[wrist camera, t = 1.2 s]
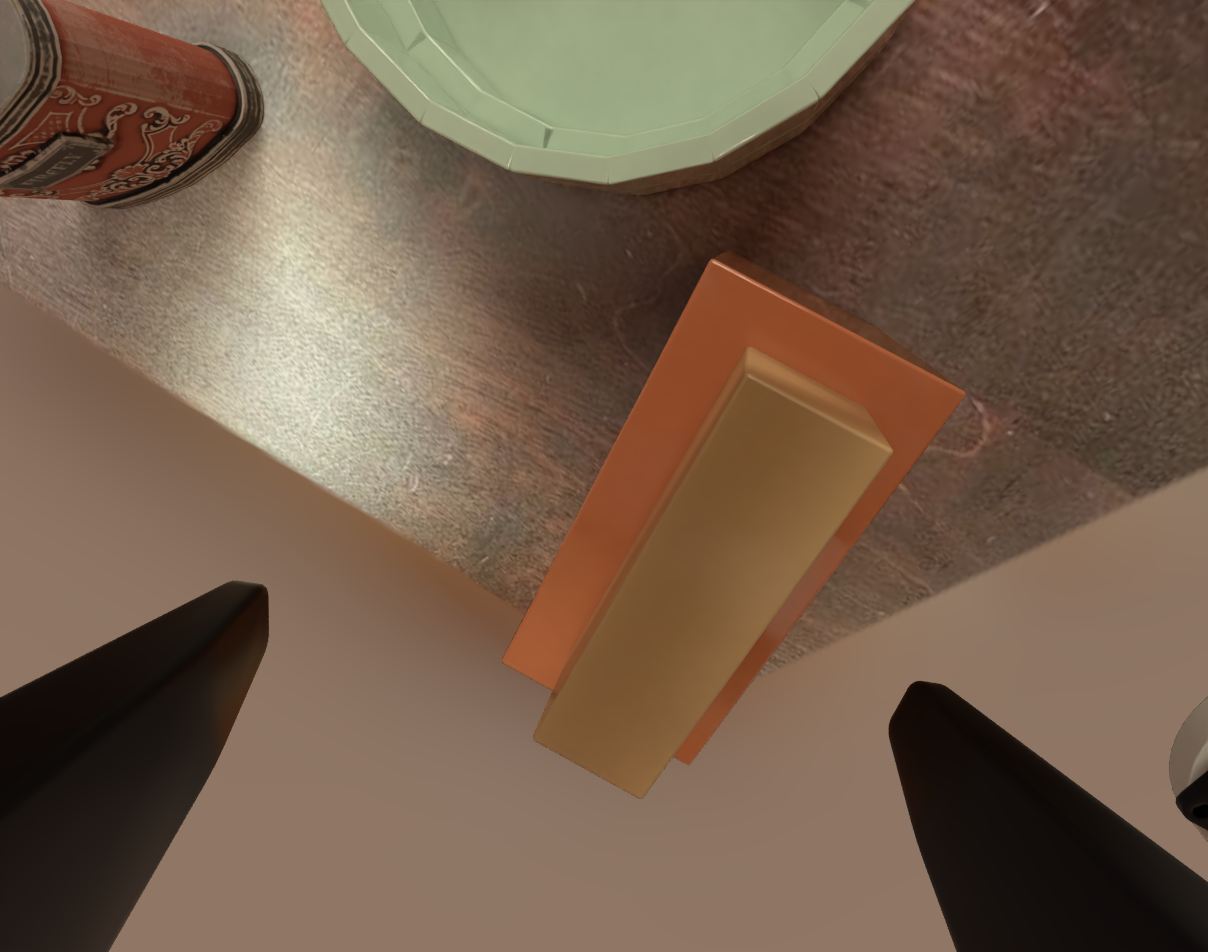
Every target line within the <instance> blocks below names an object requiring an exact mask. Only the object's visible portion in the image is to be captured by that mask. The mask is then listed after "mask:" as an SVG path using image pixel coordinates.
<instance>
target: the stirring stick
mask: <svg viewBox="0 0 1208 952" xmlns="http://www.w3.org/2000/svg"><path fill="white" fill-rule="evenodd" d="M892 454H893V449H892V448H891V446H890V445H889V443H888V442H887V440H886V439H885V437H884V436H883V434H882V433H881V431H880V430H879V428H878V427H877V425H876V424H875V422H874V420H873V419H872V417H871V416H870V414H869V413H868V411H867V410H866V408H865V407H864V406H862V405H860V404H858V403H856V402H854V401H853V400H851V399H849V398H847V397H845V396H843V395H841V394H839V393H837V392H836V391H834V390H832V389H830V388H828V387H826V386H824V385H822V384H821V383H819V382H817V381H815V380H813V379H811V378H809V377H807V376H805V375H804V374H802V373H800V372H798V371H796V370H794V369H792V368H790V367H788V366H787V365H785V364H783V363H781V362H779V361H777V360H775V359H773V358H771V357H770V356H768V355H766V354H764V353H762V352H760V351H758V350H756V349H754V348H753V347H747V348H746V349H745V350H744V352H743V354H742V356H741V357H740V359H739V361H738V363H737V364H736V366H735V368H734V369H733V371H732V373H731V375H730V376H729V378H728V380H727V382H726V383H725V385H724V387H723V389H722V390H721V392H720V394H719V396H718V397H717V399H716V401H715V402H714V404H713V406H712V408H711V409H710V411H709V413H708V415H707V416H706V418H705V420H704V422H703V423H702V425H701V427H700V429H699V430H698V432H697V434H696V436H695V437H694V439H693V441H692V442H691V444H690V446H689V448H688V449H687V451H686V453H685V455H684V456H683V458H682V460H681V462H680V463H679V465H678V467H677V469H676V470H675V472H674V474H673V476H672V477H671V479H670V481H669V482H668V484H667V486H666V488H665V489H664V491H663V493H662V495H661V496H660V498H659V500H658V502H657V503H656V505H655V507H654V509H653V510H652V512H651V514H650V516H649V517H648V519H647V521H646V522H645V524H644V526H643V528H642V529H641V531H640V533H639V535H638V536H637V538H636V540H635V542H634V543H633V545H632V547H631V549H630V550H629V552H628V554H627V555H626V557H625V559H624V561H623V562H622V564H621V566H620V568H619V569H618V571H617V573H616V575H615V576H614V578H613V580H612V582H611V583H610V585H609V587H608V589H607V590H606V592H605V594H604V595H603V597H602V599H601V601H600V602H599V604H598V606H597V608H596V609H595V611H594V613H593V615H592V616H591V618H590V620H589V622H588V623H587V625H586V627H585V629H584V630H583V632H582V634H581V635H580V637H579V639H578V641H577V642H576V644H575V646H574V648H573V649H572V651H571V653H570V655H569V656H568V658H567V660H566V662H565V664H564V667H563V669H562V671H561V674H560V676H559V678H558V680H557V683H556V685H555V687H554V689H553V692H552V694H551V696H550V699H549V701H548V703H547V705H546V708H545V710H544V712H543V714H542V717H541V719H540V721H539V723H538V726H537V728H536V730H535V733H534V735H533V739H534V740H535V741H536V742H537V743H539V744H541V745H543V746H545V747H546V748H549V749H550V750H552V751H554V752H556V753H557V754H559V755H561V756H563V757H565V758H566V759H568V760H570V761H572V762H574V763H575V764H577V765H579V766H581V767H583V768H585V769H586V770H588V771H590V772H592V773H594V774H595V775H597V776H599V777H601V778H602V779H604V780H606V781H608V782H610V783H612V784H613V785H615V786H617V787H619V788H621V789H622V790H624V791H626V792H628V793H630V794H631V795H633V796H635V797H637V798H639V799H642V798H643V797H644V796H645V795H646V793H647V792H648V791H649V789H650V788H651V787H652V785H653V784H654V782H655V781H656V780H657V778H658V777H659V776H660V774H661V773H662V771H663V770H664V769H665V767H666V766H667V764H668V763H669V762H670V760H671V759H672V758H673V756H674V755H675V754H676V752H677V751H678V749H679V748H680V747H681V745H682V744H683V742H684V741H685V740H686V738H687V737H688V736H689V734H690V733H691V731H692V730H693V729H694V727H695V726H696V725H697V723H698V722H699V720H700V719H701V718H702V716H703V715H704V714H705V712H706V711H707V709H708V708H709V707H710V705H711V704H712V703H713V701H714V700H715V698H716V697H717V696H718V694H719V693H720V691H721V690H722V689H723V687H724V686H725V685H726V683H727V682H728V680H729V679H730V678H731V676H732V675H733V674H734V672H735V671H736V669H737V668H738V667H739V665H740V664H741V663H742V661H743V660H744V658H745V657H746V656H747V654H748V653H749V651H750V650H751V649H752V647H753V646H754V645H755V643H756V642H757V640H758V639H759V638H760V636H761V635H762V634H763V632H764V631H765V629H766V628H767V627H768V625H769V624H770V623H771V621H772V620H773V618H774V617H775V616H776V614H777V613H778V611H779V610H780V609H781V607H782V606H783V605H784V603H785V602H786V600H787V599H788V598H789V596H790V595H791V594H792V592H793V591H794V589H795V588H796V587H797V585H798V584H799V583H800V581H801V580H802V578H803V577H804V576H805V574H806V573H807V571H808V570H809V569H810V567H811V566H812V565H813V563H814V562H815V560H816V559H817V558H818V556H819V555H820V554H821V552H822V551H823V549H824V548H825V547H826V545H827V544H828V543H829V541H830V540H831V538H832V537H833V536H834V534H835V533H836V531H837V530H838V529H839V527H840V526H841V525H842V523H843V522H844V520H845V519H846V518H847V516H848V515H849V514H850V512H851V511H852V509H853V508H854V507H855V505H856V504H857V503H858V501H859V500H860V498H861V497H862V496H863V494H864V493H865V491H866V490H867V489H868V487H869V486H870V485H871V483H872V482H873V480H874V479H875V478H876V476H877V475H878V474H879V472H880V471H881V469H882V468H883V467H884V465H885V464H886V463H887V461H888V460H889V458H890V457H891V456H892Z"/></svg>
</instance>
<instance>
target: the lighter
mask: <svg viewBox="0 0 1208 952" xmlns="http://www.w3.org/2000/svg"><path fill="white" fill-rule="evenodd" d="M262 115H263V99H262V93H261V90H260V87H259V84H258V81H257V78H256V77H255V75H254V73H253V72H252V70H251V69H250V67H249V65H248V64H247V63H246V62H245V61H244V60H243V59H242V58H241V57H240V56H238V55H237V54H235V53H233V52H231V51H229V50H226V49H224V48H221V47H218V46H215V45H213V44H210V43H207V42H193V43H190V44H189V43H186V42H183V41H180V40H177V39H174V38H172V37H169V36H166V35H163V34H160V33H157V32H154V31H151V30H148V29H145V28H142V27H140V26H137V25H134V24H131V23H128V22H125V21H122V20H119V19H116V18H113V17H110V16H108V15H105V14H102V13H99V12H96V11H93V10H90V9H87V8H84V7H81V6H78V5H76V4H73V3H70V2H67V1H64V0H0V196H2V197H21V198H39V199H58V200H76V201H80V202H82V203H84V204H86V205H88V206H90V207H94V208H118V209H124V208H128V207H132V206H136V205H140V204H144V203H148V202H152V201H155V200H159V199H161V198H163V197H165V196H168V195H170V194H172V193H174V192H177V191H179V190H181V189H184V188H186V187H188V186H190V185H192V184H194V183H195V182H197V181H198V180H200V179H201V178H203V177H204V176H205V175H207V174H208V173H210V172H211V171H213V170H214V169H216V168H217V167H218V166H220V165H221V164H223V163H224V162H225V161H227V160H228V159H229V158H230V157H231V156H232V155H233V154H234V153H235V152H236V151H237V150H238V149H239V148H240V147H241V146H242V145H243V144H244V143H245V142H246V141H248V140H249V139H250V138H251V137H252V136H253V135H254V134H255V132H256V131H257V129H258V128H259V126H260V125H261V120H262Z"/></svg>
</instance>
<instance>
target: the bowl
mask: <svg viewBox="0 0 1208 952" xmlns="http://www.w3.org/2000/svg"><path fill="white" fill-rule="evenodd" d="M320 1H321V3H322V5H323V7H324V9H325V10H326V12H327V14H328V16H329V18H330V20H331V21H332V23H333V25H334V27H335V29H336V31H337V33H338V34H339V36H340V38H341V40H342V42H343V44H345V45H346V47H347V49H348V50H349V51H350V52H351V53H352V54H353V55H354V56H355V57H356V58H357V59H358V60H359V61H360V63H361V64H362V65H363V66H364V67H365V68H366V69H367V70H368V71H369V72H370V73H371V74H372V75H373V76H374V77H375V78H376V79H377V80H378V81H379V82H380V83H381V84H382V85H383V86H384V87H385V88H386V89H387V90H388V91H389V92H390V93H391V94H392V96H393V97H394V98H395V99H396V100H397V101H398V102H399V103H400V104H401V105H402V106H403V107H404V108H405V109H406V110H407V111H408V112H409V113H410V114H411V115H412V116H413V117H414V118H415V119H416V120H417V121H418V122H419V123H421V124H422V125H423V126H424V127H426V128H428V129H430V130H432V131H434V132H436V133H437V134H439V135H441V136H443V137H445V138H447V139H449V140H451V141H453V142H455V143H456V144H458V145H460V146H462V147H464V148H466V149H468V150H470V151H472V152H473V153H475V154H477V155H479V156H481V157H483V158H485V159H487V160H489V161H491V162H492V163H494V164H496V165H498V166H500V167H502V168H504V169H506V170H508V171H512V172H514V173H518V174H522V175H525V176H529V177H533V178H536V179H541V180H544V181H548V182H552V183H555V184H559V185H564V186H571V187H578V188H585V189H592V190H599V191H606V192H613V193H621V194H628V195H635V196H636V195H646V194H651V193H655V192H660V191H665V190H670V189H675V188H680V187H684V186H689V185H694V184H699V183H704V182H709V181H713V180H718V179H720V178H721V177H722V178H724V177H726V176H728V175H730V174H731V173H733V172H735V171H737V170H738V169H740V168H742V167H744V166H745V165H747V164H749V163H751V162H752V161H754V160H756V159H758V158H759V157H761V156H763V155H765V154H766V153H768V152H770V151H771V150H773V149H775V148H777V147H778V146H780V145H782V144H784V143H785V142H787V141H789V140H791V139H792V138H794V137H796V136H798V135H799V134H801V133H803V132H804V130H805V129H807V128H808V127H809V126H810V125H811V124H812V123H813V122H814V121H815V120H816V119H817V118H818V117H819V116H820V115H821V114H822V113H823V112H824V111H825V110H826V109H827V108H828V107H829V106H830V105H831V104H832V102H833V101H834V100H835V99H836V98H837V97H838V96H839V95H840V94H841V93H842V92H843V91H844V90H845V89H846V88H847V87H848V86H849V85H850V84H851V83H852V82H853V81H854V80H855V79H856V78H857V76H858V75H859V74H860V73H861V72H862V71H863V70H864V69H865V68H866V67H867V66H868V65H869V64H870V63H871V62H872V61H873V60H874V59H875V58H876V57H877V56H878V54H879V53H880V52H881V51H882V49H883V48H884V46H885V45H886V43H887V42H888V40H889V39H890V38H891V36H892V35H893V33H894V32H895V30H896V29H897V27H898V26H899V24H900V23H901V21H902V20H903V19H904V17H905V16H906V14H907V13H908V11H909V10H910V8H911V7H912V5H913V4H914V3H915V1H916V0H320Z"/></svg>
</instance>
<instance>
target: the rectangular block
mask: <svg viewBox="0 0 1208 952" xmlns="http://www.w3.org/2000/svg"><path fill="white" fill-rule="evenodd" d="M747 347H753V348H754V349H756V350H758V351H760V352H762V353H764V354H766V355H768V356H770V357H771V358H773V359H775V360H777V361H779V362H781V363H783V364H785V365H787V366H788V367H790V368H792V369H794V370H796V371H798V372H800V373H802V374H804V375H805V376H807V377H809V378H811V379H813V380H815V381H817V382H819V383H821V384H822V385H824V386H826V387H828V388H830V389H832V390H834V391H836V392H837V393H839V394H841V395H843V396H845V397H847V398H849V399H851V400H853V401H854V402H856V403H858V404H860V405H862V406H864V407H865V408H866V410H867V411H868V413H869V414H870V416H871V417H872V419H873V420H874V422H875V424H876V425H877V427H878V428H879V430H880V431H881V433H882V434H883V436H884V437H885V439H886V440H887V442H888V443H889V445H890V446H891V448H892V449H893V454H892V456H891V457H890V458H889V460H888V461H887V463H886V464H885V465H884V467H883V468H882V469H881V471H880V472H879V474H878V475H877V476H876V478H875V479H874V480H873V482H872V483H871V485H870V486H869V487H868V489H867V490H866V491H865V493H864V494H863V496H862V497H861V498H860V500H859V501H858V503H857V504H856V505H855V507H854V508H853V509H852V511H851V512H850V514H849V515H848V516H847V518H846V519H845V520H844V522H843V523H842V525H841V526H840V527H839V529H838V530H837V531H836V533H835V534H834V536H833V537H832V538H831V540H830V541H829V543H828V544H827V545H826V547H825V548H824V549H823V551H822V552H821V554H820V555H819V556H818V558H817V559H816V560H815V562H814V563H813V565H812V566H811V567H810V569H809V570H808V571H807V573H806V574H805V576H804V577H803V578H802V580H801V581H800V583H799V584H798V585H797V587H796V588H795V589H794V591H793V592H792V594H791V595H790V596H789V598H788V599H787V600H786V602H785V603H784V605H783V606H782V607H781V609H780V610H779V611H778V613H777V614H776V616H775V617H774V618H773V620H772V621H771V623H770V624H769V625H768V627H767V628H766V629H765V631H764V632H763V634H762V635H761V636H760V638H759V639H758V640H757V642H756V643H755V645H754V646H753V647H752V649H751V650H750V651H749V653H748V654H747V656H746V657H745V658H744V660H743V661H742V663H741V664H740V665H739V667H738V668H737V669H736V671H735V672H734V674H733V675H732V676H731V678H730V679H729V680H728V682H727V683H726V685H725V686H724V687H723V689H722V690H721V691H720V693H719V694H718V696H717V697H716V698H715V700H714V701H713V703H712V704H711V705H710V707H709V708H708V709H707V711H706V712H705V714H704V715H703V716H702V718H701V719H700V720H699V722H698V723H697V725H696V726H695V727H694V729H693V730H692V731H691V733H690V734H689V736H688V737H687V738H686V740H685V741H684V742H683V744H682V745H681V747H680V748H679V749H678V751H677V752H676V754H675V755H674V756H673V757H674V758H676V759H678V760H680V761H681V762H683V763H685V764H687V765H690V764H691V763H692V761H693V760H694V759H695V757H696V756H697V755H698V753H699V752H700V751H701V749H702V748H703V747H704V745H705V744H706V743H707V741H708V740H709V739H710V737H711V736H712V735H713V733H714V732H715V731H716V729H717V728H718V727H719V725H720V724H721V722H722V721H723V720H724V719H725V717H726V716H727V715H728V713H729V712H730V711H731V709H732V708H733V706H734V705H735V704H736V703H737V701H738V700H739V698H740V697H741V696H742V694H743V693H744V692H745V690H746V689H747V688H748V686H749V685H750V684H751V682H752V681H753V680H754V678H755V677H756V676H757V674H758V673H759V672H760V670H761V669H762V668H763V666H764V665H765V664H766V662H767V661H768V660H769V658H770V657H771V656H772V654H773V653H774V652H775V650H776V649H777V648H778V646H779V645H780V644H781V642H782V641H783V640H784V638H785V637H786V636H787V634H788V633H789V632H790V630H791V629H792V627H793V626H794V625H795V623H796V622H797V621H798V619H799V618H800V617H801V615H802V614H803V613H804V611H805V610H806V609H807V607H808V606H809V605H810V603H811V602H812V601H813V599H814V598H815V597H816V595H817V594H818V593H819V591H820V590H821V589H822V587H823V586H824V585H825V583H826V582H827V581H828V579H829V578H830V577H831V575H832V574H833V573H834V571H835V570H836V569H837V567H838V566H839V565H840V563H841V562H842V560H843V559H844V558H845V556H846V555H847V554H848V552H849V551H850V550H851V548H852V547H853V546H854V544H855V543H856V542H857V540H858V539H859V538H860V536H861V535H862V534H863V532H864V531H865V530H866V528H867V527H868V526H869V524H870V523H871V522H872V520H873V519H874V518H875V516H876V515H877V514H878V512H879V511H880V510H881V508H882V507H883V506H884V504H885V503H886V502H887V500H888V499H889V498H890V496H891V495H892V493H893V492H894V491H895V489H896V488H897V487H898V485H899V484H900V483H901V481H902V480H903V479H904V477H905V476H906V475H907V473H908V472H909V471H910V469H911V468H912V467H913V465H914V464H915V463H916V461H917V460H918V459H919V457H920V456H921V455H922V453H923V452H924V451H925V449H926V448H927V447H928V445H929V444H930V443H931V441H932V440H933V439H934V437H935V436H936V435H937V433H938V432H939V431H940V429H941V428H942V426H943V425H944V424H945V422H946V421H947V420H948V418H949V417H950V416H951V414H952V413H953V412H954V410H955V409H956V408H957V406H958V405H959V404H960V402H961V401H962V400H963V398H964V397H965V394H966V393H965V391H964V390H963V389H961V388H960V387H958V386H957V385H956V384H954V383H953V382H952V381H950V380H949V379H947V378H946V377H945V376H943V375H942V374H941V373H939V372H938V371H936V370H935V369H934V368H932V367H931V366H930V365H928V364H927V363H926V362H924V361H923V360H921V359H920V358H919V357H917V356H916V355H915V354H913V353H912V352H910V351H909V350H908V349H906V348H905V347H904V346H902V345H901V344H899V343H898V342H897V341H895V340H894V339H893V338H891V337H890V336H888V335H887V334H886V333H884V332H883V331H882V330H880V329H879V328H877V327H876V326H874V325H872V324H871V323H869V322H867V321H865V320H863V319H861V318H859V317H857V316H855V315H853V314H852V313H850V312H848V311H846V310H844V309H842V308H840V307H838V306H836V305H834V304H833V303H831V302H829V301H827V300H825V299H823V298H821V297H819V296H817V295H815V294H814V293H812V292H810V291H808V290H806V289H804V288H802V287H800V286H798V285H796V284H795V283H793V282H791V281H789V280H787V279H785V278H783V277H781V276H779V275H777V274H776V273H774V272H772V271H770V270H768V269H766V268H764V267H762V266H760V265H758V264H757V263H755V262H753V261H751V260H749V259H747V258H745V257H743V256H741V255H739V254H738V253H736V252H734V251H732V250H728V251H726V252H724V253H722V254H720V255H718V256H716V257H715V258H713V259H711V260H710V261H709V262H708V264H707V266H706V268H705V270H704V272H703V274H702V276H701V278H700V279H699V281H698V283H697V285H696V287H695V289H694V291H693V293H692V295H691V297H690V299H689V301H688V303H687V304H686V306H685V308H684V310H683V312H682V314H681V316H680V318H679V320H678V322H677V324H676V326H675V328H674V329H673V331H672V333H671V335H670V337H669V339H668V341H667V343H666V345H665V347H664V349H663V351H662V353H661V354H660V356H659V358H658V360H657V362H656V364H655V366H654V368H653V370H652V372H651V374H650V376H649V378H648V379H647V381H646V383H645V385H644V387H643V389H642V391H641V393H640V395H639V397H638V399H637V401H636V402H635V404H634V406H633V408H632V410H631V412H630V414H629V416H628V418H627V420H626V422H625V424H624V426H623V427H622V429H621V431H620V433H619V435H618V437H617V439H616V441H615V443H614V445H613V447H612V449H611V451H610V452H609V454H608V456H607V458H606V460H605V462H604V464H603V466H602V468H601V470H600V472H599V474H598V476H597V477H596V479H595V481H594V483H593V485H592V487H591V489H590V491H589V493H588V495H587V497H586V499H585V501H584V502H583V504H582V506H581V508H580V510H579V512H578V514H577V516H576V518H575V520H574V522H573V524H572V526H571V527H570V529H569V531H568V533H567V535H566V537H565V539H564V541H563V543H562V545H561V547H560V549H559V551H558V552H557V554H556V556H555V558H554V560H553V562H552V564H551V566H550V568H549V570H548V572H547V574H546V576H545V577H544V579H543V581H542V583H541V585H540V587H539V589H538V591H537V593H536V595H535V597H534V599H533V600H532V602H531V604H530V606H529V608H528V610H527V612H526V614H525V616H524V618H523V620H522V622H521V624H520V626H519V627H518V629H517V631H516V633H515V635H514V637H513V639H512V641H511V643H510V645H509V647H508V649H507V650H506V652H505V654H504V656H503V658H502V663H503V664H505V665H507V666H509V667H511V668H512V669H514V670H516V671H518V672H520V673H521V674H523V675H525V676H527V677H529V678H531V679H533V680H534V681H536V682H538V683H540V684H542V685H543V686H545V687H547V688H549V689H551V690H552V691H553V689H554V687H555V685H556V683H557V680H558V678H559V676H560V674H561V671H562V669H563V667H564V664H565V662H566V660H567V658H568V656H569V655H570V653H571V651H572V649H573V648H574V646H575V644H576V642H577V641H578V639H579V637H580V635H581V634H582V632H583V630H584V629H585V627H586V625H587V623H588V622H589V620H590V618H591V616H592V615H593V613H594V611H595V609H596V608H597V606H598V604H599V602H600V601H601V599H602V597H603V595H604V594H605V592H606V590H607V589H608V587H609V585H610V583H611V582H612V580H613V578H614V576H615V575H616V573H617V571H618V569H619V568H620V566H621V564H622V562H623V561H624V559H625V557H626V555H627V554H628V552H629V550H630V549H631V547H632V545H633V543H634V542H635V540H636V538H637V536H638V535H639V533H640V531H641V529H642V528H643V526H644V524H645V522H646V521H647V519H648V517H649V516H650V514H651V512H652V510H653V509H654V507H655V505H656V503H657V502H658V500H659V498H660V496H661V495H662V493H663V491H664V489H665V488H666V486H667V484H668V482H669V481H670V479H671V477H672V476H673V474H674V472H675V470H676V469H677V467H678V465H679V463H680V462H681V460H682V458H683V456H684V455H685V453H686V451H687V449H688V448H689V446H690V444H691V442H692V441H693V439H694V437H695V436H696V434H697V432H698V430H699V429H700V427H701V425H702V423H703V422H704V420H705V418H706V416H707V415H708V413H709V411H710V409H711V408H712V406H713V404H714V402H715V401H716V399H717V397H718V396H719V394H720V392H721V390H722V389H723V387H724V385H725V383H726V382H727V380H728V378H729V376H730V375H731V373H732V371H733V369H734V368H735V366H736V364H737V363H738V361H739V359H740V357H741V356H742V354H743V352H744V350H745V349H746V348H747Z"/></svg>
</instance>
